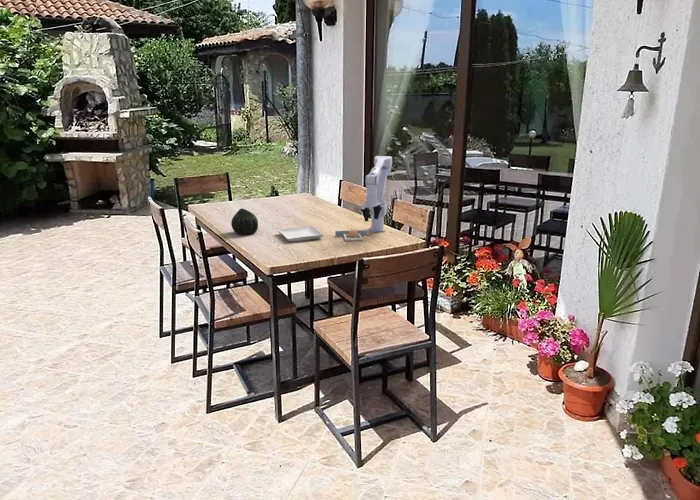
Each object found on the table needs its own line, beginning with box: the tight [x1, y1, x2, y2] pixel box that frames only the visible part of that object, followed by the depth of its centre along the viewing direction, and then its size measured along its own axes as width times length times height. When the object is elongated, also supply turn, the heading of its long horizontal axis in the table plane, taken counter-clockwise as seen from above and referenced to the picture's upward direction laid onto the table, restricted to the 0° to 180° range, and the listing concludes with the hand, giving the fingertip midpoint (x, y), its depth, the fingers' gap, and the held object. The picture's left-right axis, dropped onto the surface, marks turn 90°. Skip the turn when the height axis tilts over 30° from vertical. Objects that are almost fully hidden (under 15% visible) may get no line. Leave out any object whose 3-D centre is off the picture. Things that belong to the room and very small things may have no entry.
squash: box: [230, 208, 259, 236], centre depth 307 cm, size 14×15×15 cm
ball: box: [348, 229, 357, 238], centre depth 298 cm, size 5×5×5 cm
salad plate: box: [276, 225, 324, 242], centre depth 302 cm, size 21×21×3 cm
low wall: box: [335, 229, 368, 237], centre depth 304 cm, size 1×18×3 cm, turn 97°
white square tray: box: [342, 234, 364, 242], centre depth 299 cm, size 10×10×2 cm
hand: (371, 220), depth 301 cm, fingers open, 7 cm apart
